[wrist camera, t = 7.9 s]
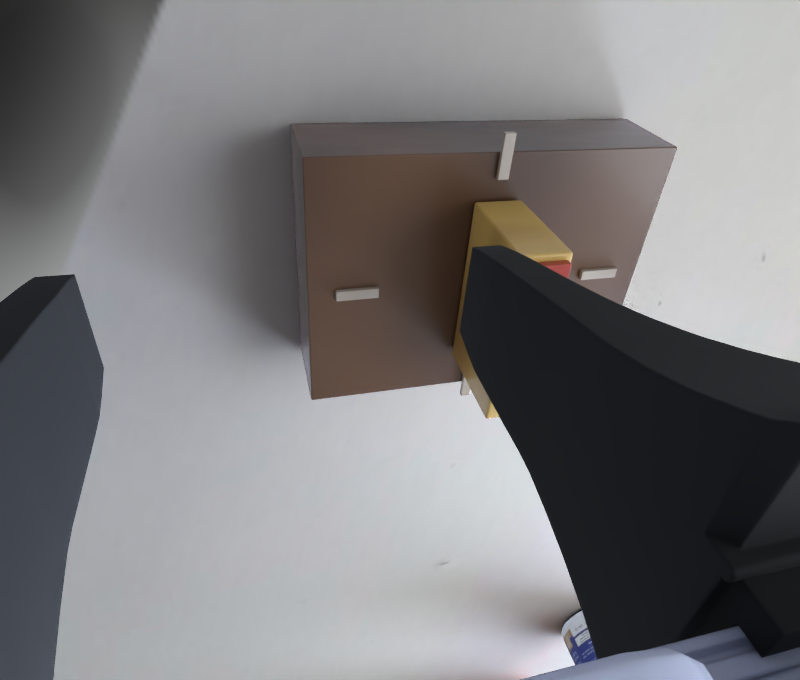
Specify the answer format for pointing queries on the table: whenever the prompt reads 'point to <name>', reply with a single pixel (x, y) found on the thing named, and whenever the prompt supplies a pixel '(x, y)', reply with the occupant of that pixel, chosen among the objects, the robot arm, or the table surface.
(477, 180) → the lock plate
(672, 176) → the table surface
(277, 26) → the table surface
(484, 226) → the handle
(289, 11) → the table surface
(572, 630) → the pill bottle
